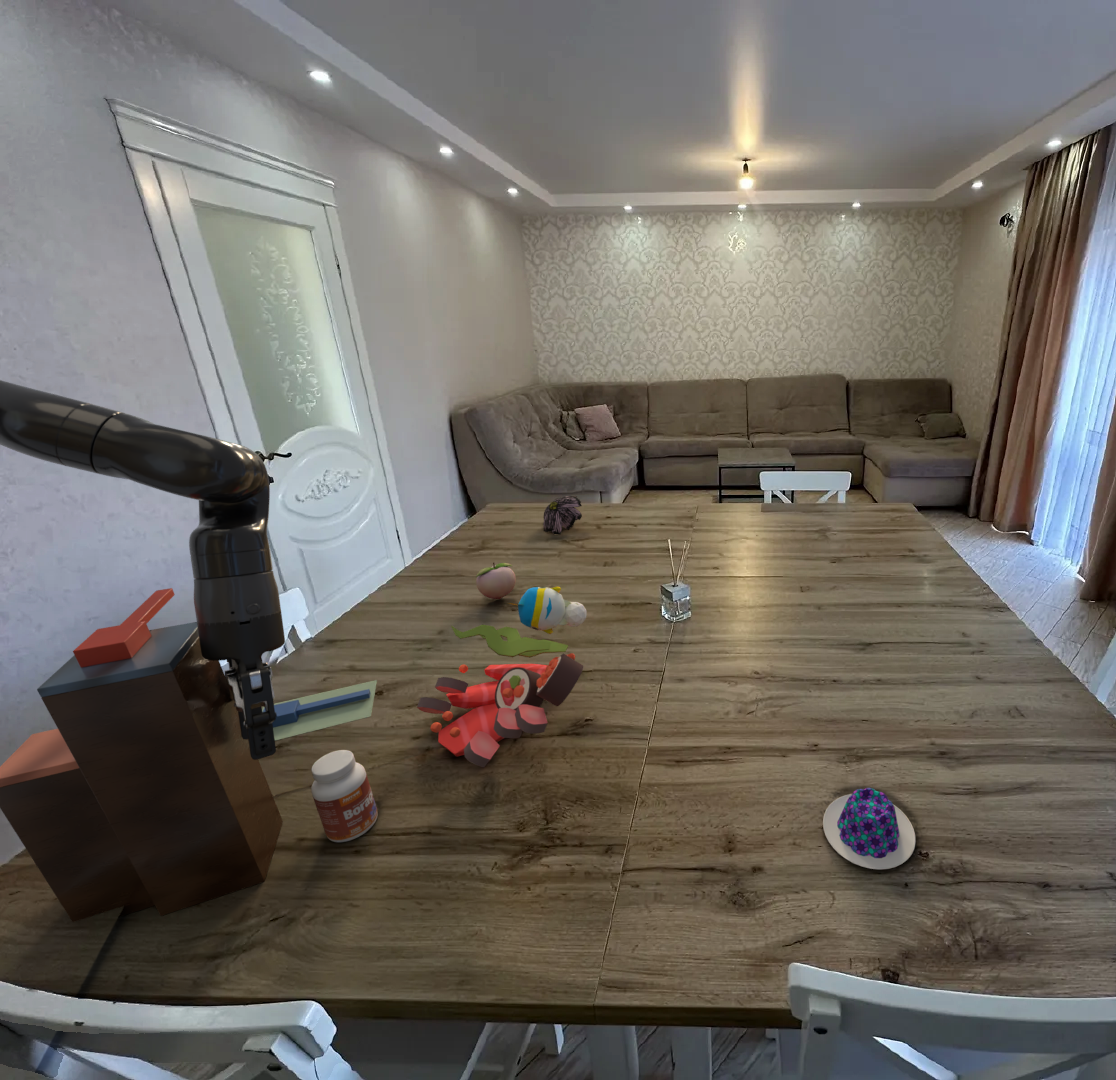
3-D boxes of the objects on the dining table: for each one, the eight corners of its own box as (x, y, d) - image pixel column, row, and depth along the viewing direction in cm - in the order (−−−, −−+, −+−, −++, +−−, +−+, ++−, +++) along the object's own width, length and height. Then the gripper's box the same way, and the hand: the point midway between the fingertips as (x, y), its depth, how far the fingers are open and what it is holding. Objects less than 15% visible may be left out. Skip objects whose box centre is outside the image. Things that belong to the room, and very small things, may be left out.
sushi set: (585, 776, 87) (409, 774, 75) (542, 739, 112) (406, 733, 101) (615, 592, 92) (456, 565, 81) (568, 598, 118) (442, 577, 107)
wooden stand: (67, 947, 63) (-86, 713, 51) (111, 873, 71) (-12, 658, 60) (264, 881, 70) (169, 663, 58) (283, 821, 78) (203, 620, 67)
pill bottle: (356, 847, 74) (334, 782, 70) (315, 841, 75) (291, 777, 71) (389, 809, 80) (370, 747, 76) (350, 804, 81) (330, 743, 77)
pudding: (831, 788, 83) (834, 759, 81) (917, 811, 78) (922, 782, 77) (814, 855, 72) (816, 825, 70) (911, 886, 68) (916, 855, 66)
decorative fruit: (495, 611, 135) (489, 573, 131) (474, 603, 139) (467, 566, 135) (526, 595, 142) (521, 559, 139) (505, 588, 146) (499, 553, 143)
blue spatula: (267, 716, 99) (264, 707, 98) (371, 691, 105) (369, 682, 104) (261, 730, 96) (258, 720, 95) (369, 704, 102) (367, 694, 101)
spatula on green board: (244, 750, 92) (244, 748, 92) (264, 707, 102) (263, 706, 102) (371, 718, 99) (370, 716, 99) (377, 681, 109) (376, 679, 109)
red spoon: (80, 668, 58) (72, 651, 57) (148, 602, 71) (142, 588, 70) (131, 658, 59) (124, 641, 58) (188, 596, 73) (183, 582, 72)
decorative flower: (528, 499, 186) (570, 481, 190) (540, 525, 194) (580, 507, 198) (540, 523, 176) (584, 503, 181) (552, 549, 184) (594, 529, 189)
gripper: (192, 612, 68) (211, 742, 69) (200, 627, 58) (222, 777, 59) (271, 601, 73) (287, 721, 75) (291, 612, 63) (309, 751, 65)
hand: (258, 746), depth 67 cm, fingers open, 8 cm apart
